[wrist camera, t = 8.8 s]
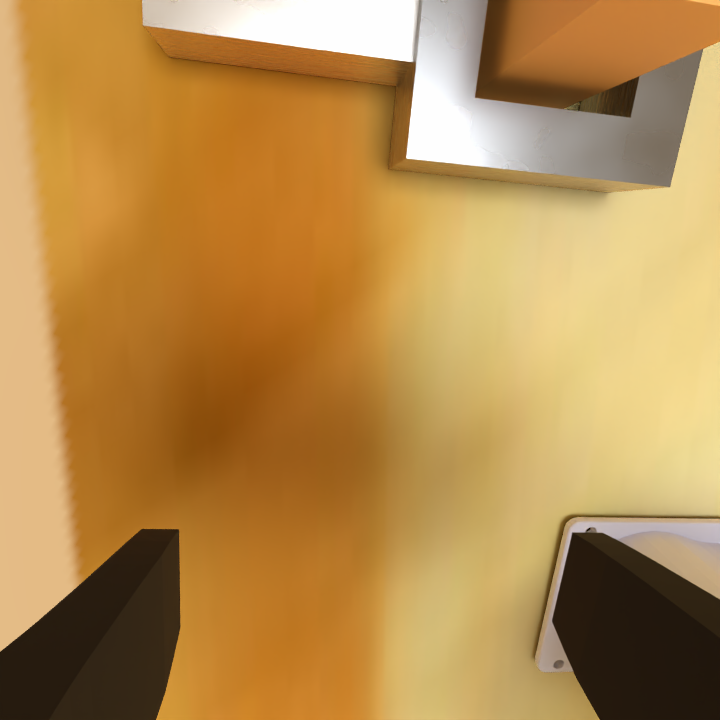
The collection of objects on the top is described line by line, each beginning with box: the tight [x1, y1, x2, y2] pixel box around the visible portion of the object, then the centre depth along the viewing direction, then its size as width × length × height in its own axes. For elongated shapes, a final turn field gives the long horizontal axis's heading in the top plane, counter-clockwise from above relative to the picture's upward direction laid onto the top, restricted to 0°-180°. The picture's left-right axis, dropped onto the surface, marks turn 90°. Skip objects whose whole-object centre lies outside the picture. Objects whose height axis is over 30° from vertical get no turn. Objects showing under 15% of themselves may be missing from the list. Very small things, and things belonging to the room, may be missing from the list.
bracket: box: [142, 0, 703, 193], centre depth 14 cm, size 15×8×3 cm, turn 85°
